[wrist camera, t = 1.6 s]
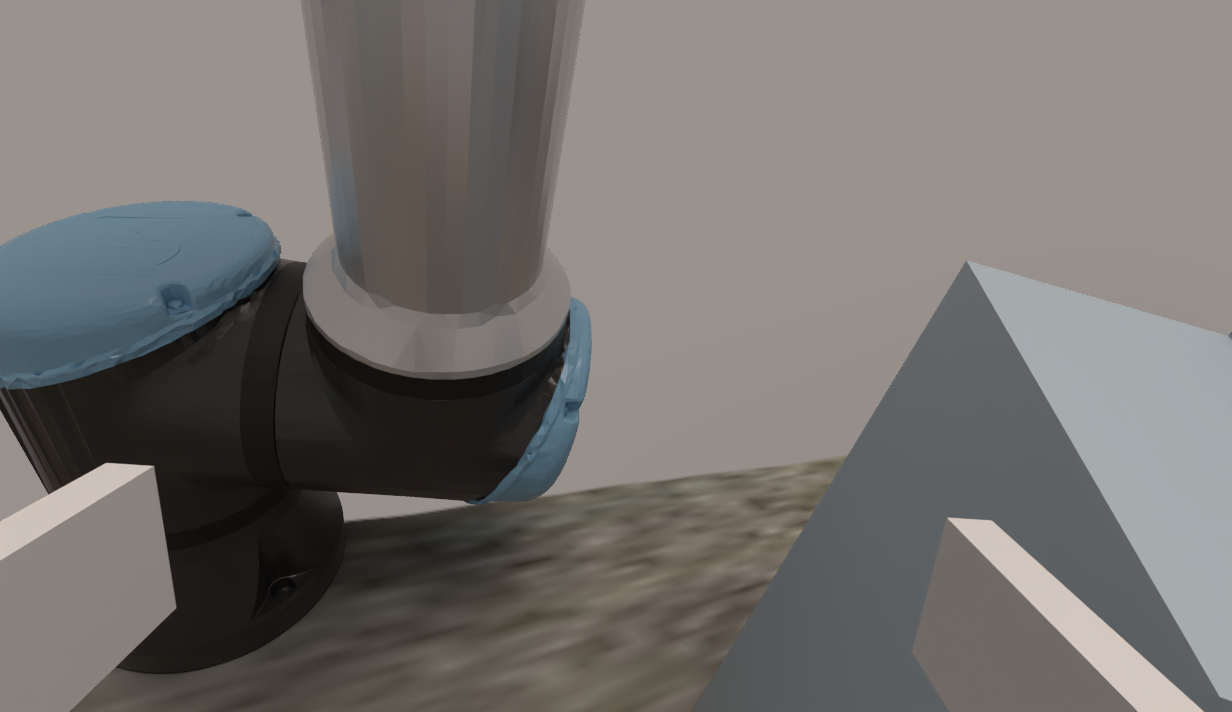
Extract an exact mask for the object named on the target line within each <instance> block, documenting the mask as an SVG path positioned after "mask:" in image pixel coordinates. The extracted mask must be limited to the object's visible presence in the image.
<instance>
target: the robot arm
mask: <svg viewBox="0 0 1232 712" xmlns="http://www.w3.org/2000/svg"><path fill="white" fill-rule="evenodd" d="M584 5H585V0H301V6H302V13H303V20H304V27H305V33H306V40H307V48H308V54H309V61H310V68H311V75H312V82H313V89H314V96H315V102H316V110H317V116H318V124H319V131H320V138H321V144H322V152H323V158H324V165H325V173H326V179H327V186H328V193H329V200H330V207H331V214H332V221H333V228H334V233H333V234H332V235H330V236H329V237H328V238H326V239H325V240H324V241H323V242H322V243H321V244H320V245H319V246H318V248H317V249H316V250H315V251H314V252H313V254H312V256H311V257H310V259H309V261H308V263H305V262H298V261H291V260H285V259H281V258H280V253H281V246H280V244H279V241H278V240H277V238H276V237H275V236H274V235H273V232H272V230H271V228H270V227H269V226H268V224H267V223H265V222H264V221H263V220H262V219H260V218H259V217H256V216H253V215H252V214H250V213H249V212H247V211H245V210H243V209H241V208H237V207H233V206H229V205H224V204H218V203H211V202H196V201H163V202H149V203H139V204H131V205H125V206H118V207H111V208H106V209H101V210H96V211H93V212H89V213H83V214H79V215H75V216H71V217H68V218H64V219H61V220H58V221H55V222H52V223H49V224H46V225H44V226H41V227H38V228H36V229H33V230H31V231H29V232H26V233H24V234H22V235H20V236H18V237H16V238H14V239H12V240H10V241H8V242H6V243H5V244H3V245H1V246H0V410H1V412H2V413H3V415H4V417H5V419H6V421H7V422H8V424H9V426H10V428H11V429H12V431H13V433H14V435H15V436H16V438H17V440H18V441H19V443H20V445H21V447H22V449H23V450H24V452H25V454H26V456H27V457H28V459H29V461H30V463H31V464H32V466H33V468H34V470H35V471H36V473H37V475H38V477H39V478H40V480H41V482H42V484H43V485H44V487H45V489H46V491H47V492H48V494H49V495H47V496H45V497H44V498H42V499H40V500H38V501H37V502H34V503H33V504H31V505H29V506H27V507H26V508H24V509H22V510H20V511H18V512H16V513H15V514H13V515H11V516H9V517H7V518H5V519H4V520H2V521H0V712H70V711H71V710H72V709H73V708H74V707H75V706H76V705H77V704H78V703H79V702H80V701H81V700H82V699H83V698H84V697H85V696H86V695H87V694H88V693H89V692H90V691H91V690H92V689H93V688H94V687H95V686H96V685H98V684H99V683H100V682H101V681H102V680H103V679H104V678H105V677H106V676H107V675H108V674H109V673H110V672H111V671H112V670H113V669H114V668H115V667H116V666H117V667H120V668H124V669H128V670H133V671H139V672H149V673H172V672H182V671H189V670H195V669H200V668H204V667H209V666H212V665H216V664H219V663H222V662H225V661H228V660H231V659H234V658H236V657H239V656H241V655H243V654H246V653H248V652H250V651H252V650H254V649H256V648H258V647H260V646H262V645H263V644H265V643H267V642H269V641H270V640H272V639H274V638H275V637H277V636H278V635H280V634H281V633H283V632H284V631H285V630H287V629H288V628H289V627H291V626H292V625H293V624H295V623H296V622H297V621H298V620H299V619H300V618H302V617H303V616H304V615H305V614H306V613H307V612H308V611H309V610H310V609H311V608H312V607H313V606H314V605H315V603H316V602H317V601H318V600H319V599H320V597H321V596H322V595H323V594H324V592H325V591H326V589H327V588H328V587H329V585H330V583H331V582H332V580H333V578H334V576H335V574H336V572H337V570H338V568H339V565H340V562H341V559H342V556H343V552H344V545H345V528H344V518H343V511H342V506H341V502H340V500H339V497H338V494H337V492H347V493H362V494H377V495H378V494H379V495H394V496H409V497H423V498H435V499H448V500H460V501H465V502H466V503H470V504H475V505H482V504H486V503H488V502H490V501H514V502H521V501H529V500H532V499H535V498H537V497H539V496H541V495H542V494H544V493H545V492H546V491H547V490H548V489H549V488H550V487H551V486H552V485H553V484H554V482H555V481H556V479H557V478H558V476H559V475H560V473H561V471H562V469H563V467H564V465H565V463H566V461H567V458H568V456H569V453H570V450H571V448H572V445H573V442H574V439H575V436H576V432H577V428H578V424H579V408H580V406H581V404H582V402H583V400H584V397H585V393H586V389H587V383H588V377H589V370H590V360H591V345H592V340H591V323H590V316H589V313H588V310H587V308H586V306H585V305H584V304H583V303H582V302H581V301H579V300H578V299H576V298H573V297H571V293H570V285H569V282H568V278H567V275H566V273H565V270H564V268H563V266H562V265H561V263H560V262H559V260H558V259H557V257H556V256H555V255H554V254H553V252H552V251H551V250H550V249H549V248H548V247H547V246H546V244H547V238H548V232H549V226H550V219H551V213H552V207H553V201H554V193H555V188H556V182H557V175H558V169H559V163H560V156H561V150H562V144H563V138H564V131H565V125H566V119H567V112H568V106H569V99H570V93H571V86H572V80H573V74H574V68H575V62H576V55H577V49H578V42H579V37H580V30H581V23H582V18H583V11H584ZM912 653H913V655H914V656H915V658H916V659H917V661H918V663H919V664H920V666H921V667H922V669H923V671H924V672H925V674H926V675H927V677H928V679H929V680H930V682H931V683H932V685H933V686H934V688H935V690H936V691H937V693H938V694H939V696H940V698H941V699H942V701H943V702H944V704H945V706H946V707H947V709H948V710H949V712H1204V711H1203V710H1202V709H1200V708H1199V707H1198V706H1197V705H1196V704H1195V703H1194V702H1193V701H1192V700H1190V699H1189V698H1188V697H1187V696H1186V695H1185V694H1184V693H1183V692H1182V691H1180V690H1179V689H1178V688H1177V687H1176V686H1175V685H1174V684H1173V683H1172V682H1170V681H1169V680H1168V679H1167V678H1166V677H1165V676H1164V675H1163V674H1162V673H1160V672H1159V671H1158V670H1157V669H1156V668H1155V667H1154V666H1153V665H1152V664H1150V663H1149V662H1148V661H1147V660H1146V659H1145V658H1144V657H1143V656H1142V655H1140V654H1139V653H1138V652H1137V651H1136V650H1135V649H1134V648H1133V647H1132V646H1130V645H1129V644H1128V643H1127V642H1126V641H1125V640H1124V639H1123V638H1122V637H1120V636H1119V635H1118V634H1117V633H1116V632H1115V631H1114V630H1113V629H1112V628H1111V627H1109V626H1108V625H1107V624H1106V623H1105V622H1104V621H1103V620H1102V619H1101V618H1099V617H1098V616H1097V615H1096V614H1095V613H1094V612H1093V611H1092V610H1091V609H1089V608H1088V607H1087V606H1086V605H1085V604H1084V603H1083V602H1082V601H1081V600H1079V599H1078V598H1077V597H1076V596H1075V595H1074V594H1073V593H1072V592H1071V591H1069V590H1068V589H1067V588H1066V587H1065V586H1064V585H1063V584H1062V583H1061V582H1059V581H1058V580H1057V579H1056V578H1055V577H1054V576H1053V575H1052V574H1051V573H1049V572H1048V571H1047V570H1046V569H1045V568H1044V567H1043V566H1042V565H1041V564H1039V563H1038V562H1037V561H1036V560H1035V559H1034V558H1033V557H1032V556H1031V555H1029V554H1028V553H1027V552H1026V551H1025V550H1024V549H1023V548H1022V547H1021V546H1019V545H1018V544H1017V543H1016V542H1015V541H1014V540H1013V539H1012V538H1011V537H1010V536H1008V535H1007V534H1006V533H1005V532H1004V531H1003V530H1002V529H1001V528H1000V527H998V526H997V525H996V524H995V523H994V522H993V521H992V520H977V519H962V518H946V522H945V526H944V530H943V534H942V538H941V541H940V545H939V549H938V553H937V557H936V561H935V565H934V569H933V572H932V576H931V580H930V584H929V588H928V592H927V596H926V599H925V603H924V607H923V611H922V615H921V619H920V623H919V627H918V630H917V634H916V638H915V642H914V646H913V650H912Z"/></svg>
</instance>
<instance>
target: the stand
mask: <svg viewBox="0 0 1232 712" xmlns="http://www.w3.org/2000/svg"><path fill="white" fill-rule="evenodd" d="M946 518H962V519H977V520H992V521H993V522H994V523H995V524H996V525H997V526H998V527H1000V528H1001V529H1002V530H1003V531H1004V532H1005V533H1006V534H1007V535H1008V536H1010V537H1011V538H1012V539H1013V540H1014V541H1015V542H1016V543H1017V544H1018V545H1019V546H1021V547H1022V548H1023V549H1024V550H1025V551H1026V552H1027V553H1028V554H1029V555H1031V556H1032V557H1033V558H1034V559H1035V560H1036V561H1037V562H1038V563H1039V564H1041V565H1042V566H1043V567H1044V568H1045V569H1046V570H1047V571H1048V572H1049V573H1051V574H1052V575H1053V576H1054V577H1055V578H1056V579H1057V580H1058V581H1059V582H1061V583H1062V584H1063V585H1064V586H1065V587H1066V588H1067V589H1068V590H1069V591H1071V592H1072V593H1073V594H1074V595H1075V596H1076V597H1077V598H1078V599H1079V600H1081V601H1082V602H1083V603H1084V604H1085V605H1086V606H1087V607H1088V608H1089V609H1091V610H1092V611H1093V612H1094V613H1095V614H1096V615H1097V616H1098V617H1099V618H1101V619H1102V620H1103V621H1104V622H1105V623H1106V624H1107V625H1108V626H1109V627H1111V628H1112V629H1113V630H1114V631H1115V632H1116V633H1117V634H1118V635H1119V636H1120V637H1122V638H1123V639H1124V640H1125V641H1126V642H1127V643H1128V644H1129V645H1130V646H1132V647H1133V648H1134V649H1135V650H1136V651H1137V652H1138V653H1139V654H1140V655H1142V656H1143V657H1144V658H1145V659H1146V660H1147V661H1148V662H1149V663H1150V664H1152V665H1153V666H1154V667H1155V668H1156V669H1157V670H1158V671H1159V672H1160V673H1162V674H1163V675H1164V676H1165V677H1166V678H1167V679H1168V680H1169V681H1170V682H1172V683H1173V684H1174V685H1175V686H1176V687H1177V688H1178V689H1179V690H1180V691H1182V692H1183V693H1184V694H1185V695H1186V696H1187V697H1188V698H1189V699H1190V700H1192V701H1193V702H1194V703H1195V704H1196V705H1197V706H1198V707H1199V708H1200V709H1202V710H1203V711H1204V712H1232V332H1231V333H1230V334H1229V336H1226V335H1223V334H1219V333H1216V332H1212V331H1209V330H1205V329H1202V328H1198V327H1195V326H1191V325H1188V324H1185V323H1181V322H1178V321H1174V320H1171V319H1167V318H1164V317H1160V316H1157V315H1153V314H1150V313H1146V312H1143V311H1140V310H1136V309H1133V308H1129V307H1126V306H1122V305H1119V304H1115V303H1112V302H1109V301H1105V300H1102V299H1098V298H1095V297H1091V296H1088V295H1084V294H1081V293H1078V292H1074V291H1071V290H1067V289H1064V288H1060V287H1056V286H1053V285H1050V284H1046V283H1043V282H1039V281H1036V280H1032V279H1029V278H1026V277H1022V276H1019V275H1015V274H1012V273H1008V272H1005V271H1001V270H998V269H994V268H991V267H987V266H984V265H981V264H977V263H974V262H970V261H966V262H965V264H964V265H963V267H962V269H961V270H960V272H959V273H958V275H957V277H956V278H955V280H954V282H953V283H952V285H951V287H950V288H949V290H948V292H947V293H946V295H945V296H944V298H943V300H942V301H941V303H940V305H939V306H938V308H937V310H936V311H935V313H934V315H933V316H932V318H931V319H930V321H929V323H928V324H927V326H926V328H925V330H924V331H923V333H922V334H921V336H920V338H919V339H918V341H917V343H916V344H915V346H914V348H913V349H912V351H911V352H910V354H909V356H908V358H907V359H906V361H905V362H904V364H903V366H902V367H901V369H900V371H899V372H898V374H897V375H896V377H895V379H894V381H893V382H892V384H891V385H890V387H889V389H888V390H887V392H886V394H885V395H884V397H883V398H882V400H881V402H880V403H879V405H878V407H877V409H876V410H875V412H874V413H873V415H872V417H871V418H870V420H869V422H868V423H867V425H866V426H865V428H864V430H863V431H862V433H861V435H860V436H859V438H858V440H857V441H856V443H855V445H854V446H853V448H852V450H851V451H850V453H849V454H848V456H847V458H846V459H845V461H844V463H843V464H842V466H841V468H840V469H839V471H838V473H837V474H836V476H835V477H834V479H833V481H832V482H831V484H830V486H829V487H828V489H827V491H826V492H825V494H824V496H823V497H822V499H821V500H820V502H819V504H818V505H817V507H816V509H815V510H814V512H813V514H812V515H811V517H810V519H809V520H808V522H807V524H806V525H805V527H804V528H803V530H802V532H801V533H800V535H799V537H798V538H797V540H796V542H795V543H794V545H793V547H792V548H791V550H790V551H789V553H788V555H787V556H786V558H785V560H784V561H783V563H782V565H781V566H780V568H779V570H778V571H777V573H776V575H775V576H774V578H773V579H772V581H771V583H770V584H769V586H768V588H767V589H766V591H765V593H764V594H763V596H762V598H761V599H760V601H759V602H758V604H757V606H756V607H755V609H754V611H753V612H752V614H751V616H750V617H749V619H748V621H747V622H746V624H745V626H744V627H743V629H742V630H741V632H740V634H739V635H738V637H737V639H736V640H735V642H734V644H733V645H732V647H731V649H730V650H729V652H728V653H727V655H726V657H725V658H724V660H723V662H722V663H721V665H720V667H719V668H718V670H717V672H716V673H715V675H714V677H713V678H712V680H711V681H710V683H709V685H708V686H707V688H706V690H705V691H704V693H703V695H702V696H701V698H700V700H699V701H698V703H697V704H696V706H695V708H694V709H693V711H692V712H949V710H948V709H947V707H946V706H945V704H944V702H943V701H942V699H941V698H940V696H939V694H938V693H937V691H936V690H935V688H934V686H933V685H932V683H931V682H930V680H929V679H928V677H927V675H926V674H925V672H924V671H923V669H922V667H921V666H920V664H919V663H918V661H917V659H916V658H915V656H914V655H913V653H912V650H913V646H914V642H915V638H916V634H917V630H918V627H919V623H920V619H921V615H922V611H923V607H924V603H925V599H926V596H927V592H928V588H929V584H930V580H931V576H932V572H933V569H934V565H935V561H936V557H937V553H938V549H939V545H940V541H941V538H942V534H943V530H944V526H945V522H946Z"/></svg>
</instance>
